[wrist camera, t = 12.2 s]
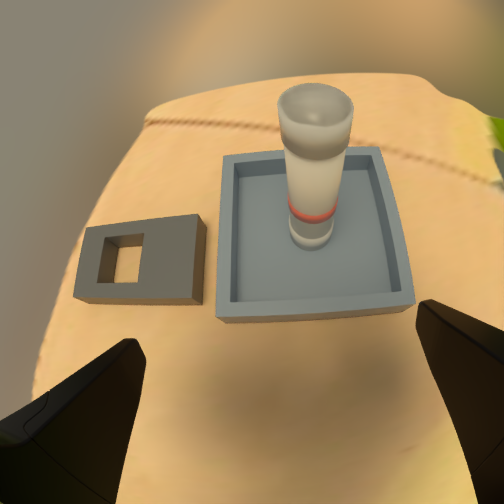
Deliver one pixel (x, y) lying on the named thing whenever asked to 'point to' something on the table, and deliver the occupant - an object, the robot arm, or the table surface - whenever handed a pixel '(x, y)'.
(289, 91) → the cup
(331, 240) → the tray
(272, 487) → the table surface
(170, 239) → the block
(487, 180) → the table surface
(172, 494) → the table surface
